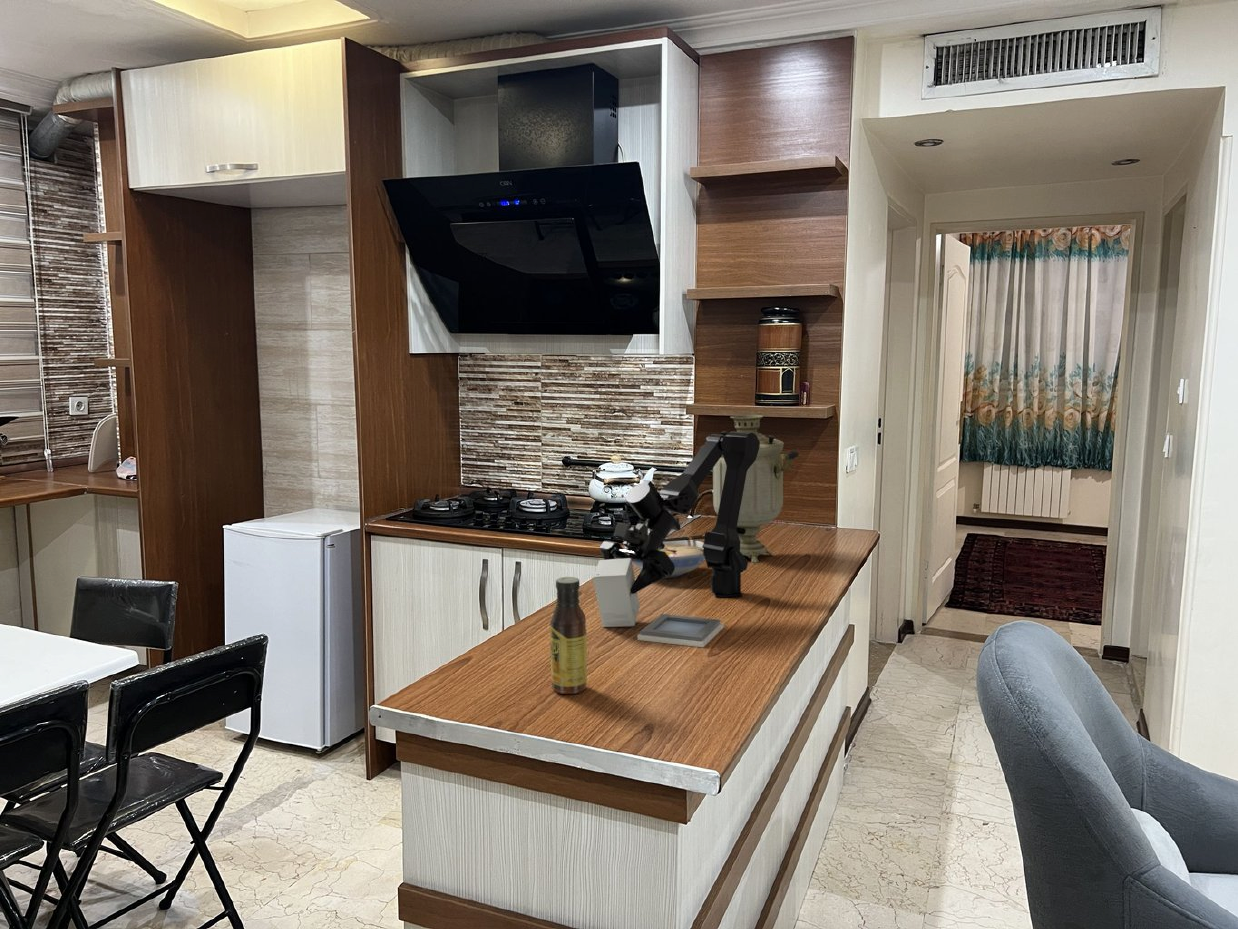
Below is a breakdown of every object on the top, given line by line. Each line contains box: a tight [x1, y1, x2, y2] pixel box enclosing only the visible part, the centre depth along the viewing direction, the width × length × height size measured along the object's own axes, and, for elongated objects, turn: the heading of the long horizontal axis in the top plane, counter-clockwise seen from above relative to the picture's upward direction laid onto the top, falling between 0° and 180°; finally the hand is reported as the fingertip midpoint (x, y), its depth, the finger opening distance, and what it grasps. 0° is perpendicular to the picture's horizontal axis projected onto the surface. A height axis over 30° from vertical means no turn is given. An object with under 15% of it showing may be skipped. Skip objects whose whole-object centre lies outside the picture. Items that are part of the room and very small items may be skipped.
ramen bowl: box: [619, 534, 706, 579], centre depth 243 cm, size 25×23×8 cm
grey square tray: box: [637, 613, 724, 648], centre depth 193 cm, size 14×14×2 cm
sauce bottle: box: [549, 576, 588, 695], centre depth 161 cm, size 7×6×20 cm
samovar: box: [699, 414, 800, 564], centre depth 261 cm, size 30×26×40 cm
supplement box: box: [592, 558, 641, 628], centre depth 198 cm, size 7×7×13 cm
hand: (616, 588), depth 198 cm, fingers closed on supplement box, 9 cm apart
